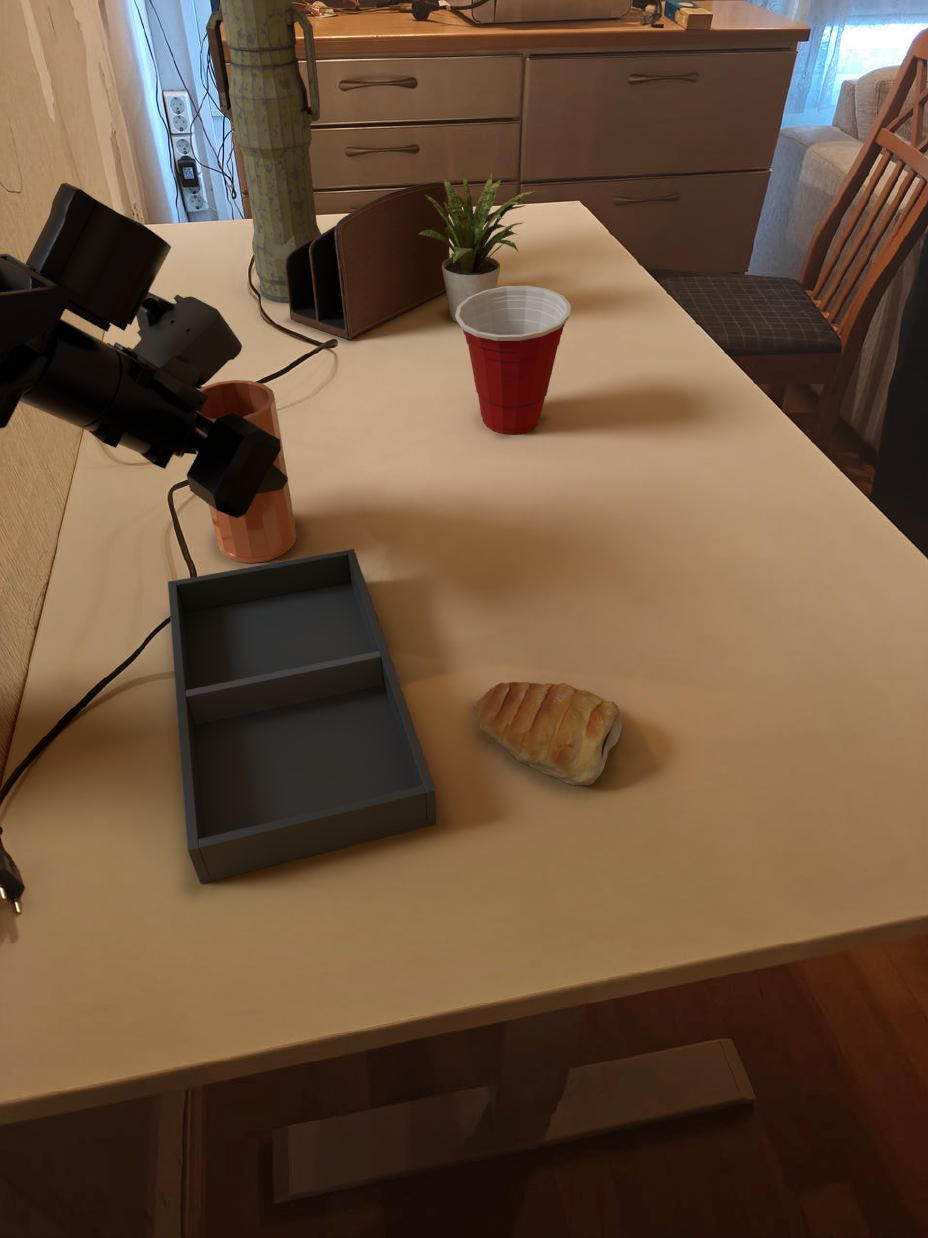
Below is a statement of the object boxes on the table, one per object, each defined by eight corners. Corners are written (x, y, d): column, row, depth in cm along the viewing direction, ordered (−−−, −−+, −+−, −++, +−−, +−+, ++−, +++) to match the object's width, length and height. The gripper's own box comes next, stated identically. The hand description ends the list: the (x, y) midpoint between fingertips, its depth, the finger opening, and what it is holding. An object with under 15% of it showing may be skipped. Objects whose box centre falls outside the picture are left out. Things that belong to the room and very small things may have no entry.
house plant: (523, 348, 101) (530, 199, 90) (407, 340, 103) (400, 192, 92) (535, 300, 112) (543, 161, 101) (429, 293, 113) (426, 156, 103)
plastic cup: (437, 409, 91) (435, 295, 83) (527, 387, 94) (533, 275, 86) (487, 459, 83) (490, 339, 75) (582, 432, 87) (594, 315, 79)
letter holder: (451, 290, 114) (450, 174, 105) (349, 342, 103) (338, 216, 93) (393, 273, 119) (388, 160, 109) (289, 320, 107) (273, 198, 98)
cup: (222, 569, 71) (188, 427, 62) (215, 524, 75) (183, 386, 67) (301, 555, 72) (279, 414, 63) (290, 512, 77) (268, 375, 68)
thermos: (256, 275, 118) (206, -48, 95) (342, 277, 118) (313, -47, 94) (240, 301, 111) (181, -40, 88) (331, 303, 111) (297, -39, 88)
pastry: (458, 750, 57) (458, 710, 54) (497, 682, 61) (499, 643, 59) (595, 798, 54) (602, 759, 51) (626, 724, 59) (634, 684, 56)
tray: (200, 884, 49) (187, 850, 47) (177, 615, 67) (167, 581, 64) (437, 824, 52) (435, 790, 50) (357, 582, 70) (353, 548, 67)
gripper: (230, 316, 51) (384, 419, 64) (81, 239, 61) (241, 342, 74) (142, 482, 52) (311, 549, 65) (10, 380, 62) (180, 456, 75)
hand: (259, 466), depth 70 cm, fingers closed on cup, 6 cm apart
